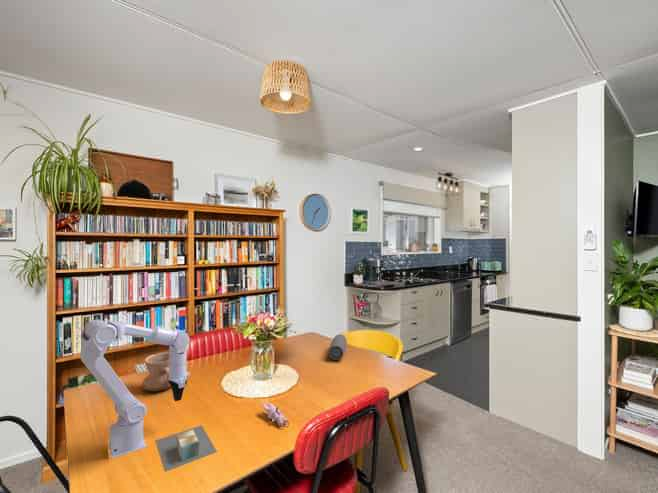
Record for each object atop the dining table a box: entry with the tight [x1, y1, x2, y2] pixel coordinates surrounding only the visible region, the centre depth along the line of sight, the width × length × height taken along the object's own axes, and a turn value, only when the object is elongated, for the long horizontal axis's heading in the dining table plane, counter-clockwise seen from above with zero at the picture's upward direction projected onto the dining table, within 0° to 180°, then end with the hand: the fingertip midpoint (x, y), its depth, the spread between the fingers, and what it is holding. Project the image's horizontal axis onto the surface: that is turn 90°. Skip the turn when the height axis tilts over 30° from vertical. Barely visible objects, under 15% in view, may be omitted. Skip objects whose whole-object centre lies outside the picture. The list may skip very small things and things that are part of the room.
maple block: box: [177, 430, 199, 461], centre depth 101 cm, size 5×4×8 cm
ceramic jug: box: [141, 352, 171, 392], centre depth 145 cm, size 18×14×14 cm
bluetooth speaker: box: [328, 333, 348, 361], centre depth 190 cm, size 23×9×10 cm, turn 172°
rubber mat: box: [155, 425, 218, 473], centre depth 103 cm, size 15×18×1 cm
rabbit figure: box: [262, 402, 290, 429], centre depth 120 cm, size 6×6×15 cm
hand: (177, 400), depth 115 cm, fingers closed
